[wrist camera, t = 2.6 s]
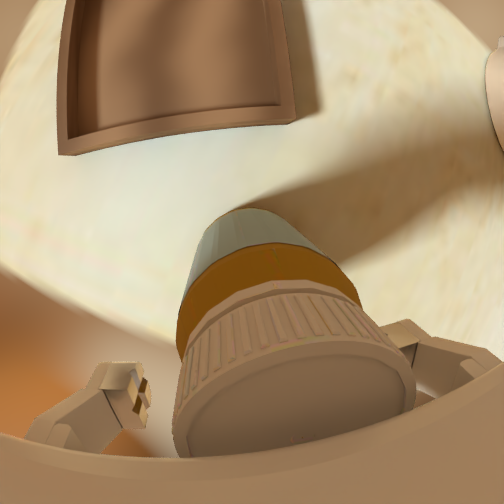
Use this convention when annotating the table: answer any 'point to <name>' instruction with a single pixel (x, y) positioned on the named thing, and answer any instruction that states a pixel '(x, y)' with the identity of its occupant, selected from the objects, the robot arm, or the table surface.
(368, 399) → the bottle
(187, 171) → the table surface
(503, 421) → the robot arm
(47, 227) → the table surface
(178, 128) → the serving tray
